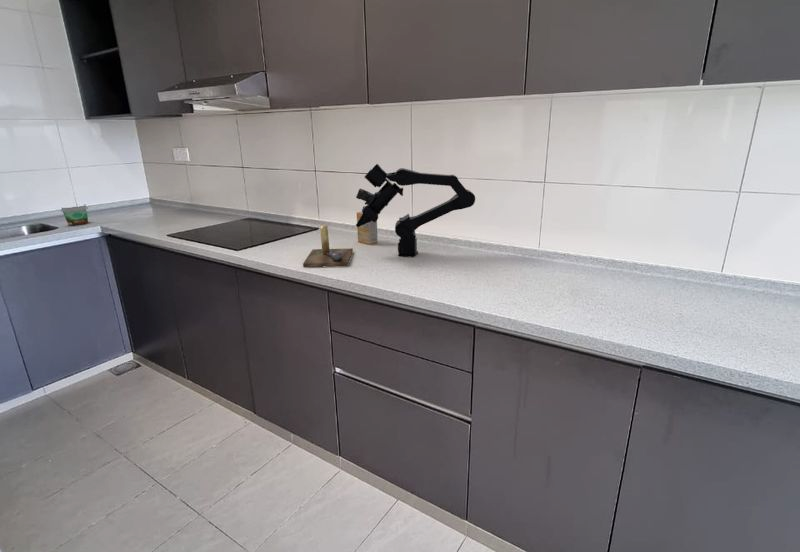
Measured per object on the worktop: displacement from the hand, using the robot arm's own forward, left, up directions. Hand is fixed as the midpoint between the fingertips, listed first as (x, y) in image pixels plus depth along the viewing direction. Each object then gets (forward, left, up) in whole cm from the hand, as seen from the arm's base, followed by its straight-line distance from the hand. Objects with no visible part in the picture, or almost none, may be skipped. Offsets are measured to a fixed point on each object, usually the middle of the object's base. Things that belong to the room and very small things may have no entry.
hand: (356, 226), depth 166 cm
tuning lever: (+8, +8, -10) cm, 15 cm away
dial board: (+9, +7, -12) cm, 16 cm away
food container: (+173, -25, -12) cm, 176 cm away
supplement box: (+3, -20, -12) cm, 23 cm away
